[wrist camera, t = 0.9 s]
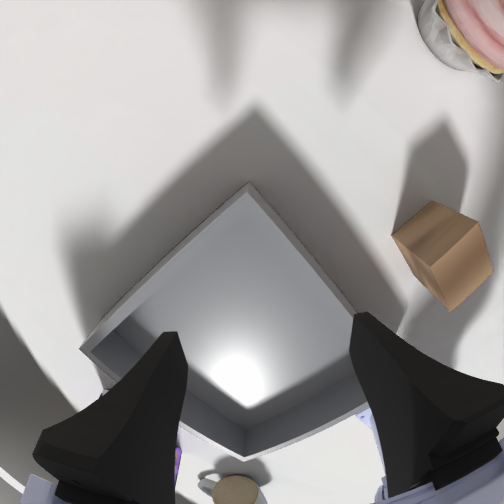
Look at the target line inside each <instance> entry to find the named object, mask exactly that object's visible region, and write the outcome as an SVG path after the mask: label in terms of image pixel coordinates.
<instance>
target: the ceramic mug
mask: <svg viewBox="0 0 504 504" xmlns="http://www.w3.org/2000/svg"><path fill="white" fill-rule="evenodd" d="M198 487H199V488H200V489H201V490H202V491H203V492H204V493H206V494H207V495H209V496H211V497H212V498H213V502H214V504H267V501H266V498H265V497H264V495H263V493H262V492H261V490H260V488H259V486H258V485H257V484H256V483H255V482H254V481H253V480H252V479H250V478H248V477H245V476H241V475H232V476H228V477H225V478H223V479H221V480H220V481H219V482H215V481H212V480H209V479H205V478H203V479H201V480H200V482H199V483H198Z"/></svg>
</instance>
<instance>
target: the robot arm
mask: <svg viewBox="0 0 504 504" xmlns="http://www.w3.org/2000/svg"><path fill="white" fill-rule="evenodd" d="M349 353H350V357H351V360H352V364H353V367H354V371H355V373H356V376H357V378H358V380H359V383H360V385H361V387H362V390H363V392H364V395H365V397H366V399H367V402H368V404H369V406H368V407H367V408H365V409H363V410H361V411H359V412H358V413H356V417H357V418H358V419H359V420H361V421H362V422H363V423H364V424H366V425H367V426H368V427H369V428H371V429H372V432H373V435H374V438H375V441H376V445H377V448H378V451H379V454H380V458H381V461H382V464H383V468H384V471H385V475H386V476H385V477H382V482H383V485H382V486H380V487H379V488H378V490H377V493H376V495H375V503H372V504H500V503H501V502H502V501H504V438H503V439H501V440H500V441H499V442H498V440H497V438H496V437H497V436H498V435H499V432H498V430H497V428H496V427H497V426H498V424H499V423H500V422H501V421H502V419H503V418H504V385H503V384H500V383H495V382H491V381H486V380H482V379H479V378H476V377H472V376H469V375H467V374H464V373H461V372H459V371H456V370H454V369H452V368H450V367H447V366H445V365H443V364H441V363H439V362H437V361H435V360H434V359H432V358H430V357H428V356H427V355H425V354H423V353H422V352H420V351H419V350H417V349H416V348H414V347H413V346H411V345H410V344H408V343H407V342H405V341H404V340H403V339H401V338H400V337H399V336H397V335H396V334H395V333H393V332H392V331H391V330H390V329H388V328H387V327H386V326H385V325H383V324H382V323H381V322H380V321H378V320H377V319H376V318H375V317H373V316H372V315H371V314H370V313H368V312H363V313H357V314H354V316H353V324H352V332H351V339H350V345H349ZM187 378H188V363H187V360H186V357H185V354H184V351H183V348H182V345H181V342H180V339H179V335H178V332H177V331H168V332H163V333H162V334H161V335H160V336H159V337H158V338H157V340H156V341H155V342H154V343H153V344H152V346H151V347H150V348H149V349H148V350H147V352H146V353H145V354H144V355H143V356H142V357H141V359H140V360H139V361H138V362H137V363H136V364H135V366H134V367H133V368H132V369H131V370H130V371H129V372H128V373H127V374H126V375H125V376H124V377H123V378H122V379H121V380H120V381H119V382H118V383H117V384H116V385H115V386H114V387H112V388H111V389H110V390H109V391H108V392H107V393H105V394H104V395H103V396H102V397H100V398H99V399H98V400H96V401H95V402H93V403H92V404H91V405H89V406H88V407H86V408H85V409H83V410H82V411H80V412H79V413H77V414H75V415H74V416H72V417H70V418H68V419H66V420H64V421H62V422H60V423H58V424H56V425H53V426H52V427H49V428H47V429H44V430H43V431H42V433H41V435H40V438H39V440H38V442H37V444H36V447H35V449H34V451H33V454H32V455H33V458H34V459H35V461H36V462H37V463H38V464H39V465H40V466H41V467H43V468H44V469H45V470H46V471H48V472H49V473H50V474H51V475H53V476H54V477H55V478H57V479H58V480H59V482H58V485H55V484H53V483H51V482H49V481H47V480H45V479H42V478H40V477H38V476H36V475H33V474H30V476H29V479H28V482H27V485H26V488H25V490H24V493H23V496H22V499H21V502H20V504H175V452H176V438H177V432H178V426H179V421H180V416H181V412H182V407H183V402H184V398H185V393H186V388H187Z"/></svg>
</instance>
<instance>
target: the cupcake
mask: <svg viewBox="0 0 504 504" xmlns="http://www.w3.org/2000/svg"><path fill="white" fill-rule="evenodd" d="M418 27H419V30H420V33H421V36H422V38H423V40H424V42H425V44H426V45H427V47H428V48H429V49H430V51H431V52H432V53H433V54H434V55H435V57H437V58H438V59H439V60H440V61H441V62H443V63H444V64H446V65H447V66H449V67H451V68H453V69H456V70H460V71H467V72H473V73H477V74H482V75H484V76H486V77H488V78H490V79H492V80H494V81H496V82H497V83H500V82H501V81H502V80H503V78H504V0H425V2H424V3H423V5H422V7H421V8H420V11H419V14H418Z"/></svg>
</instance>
